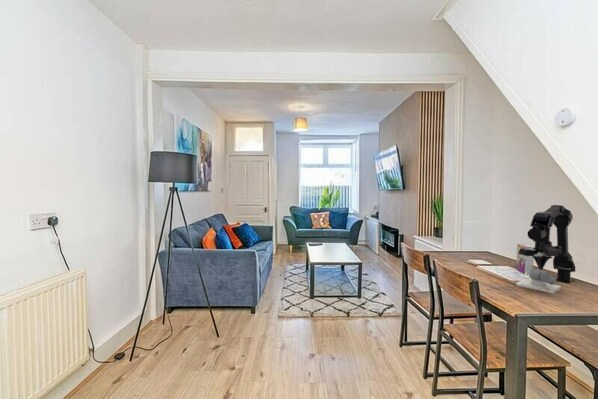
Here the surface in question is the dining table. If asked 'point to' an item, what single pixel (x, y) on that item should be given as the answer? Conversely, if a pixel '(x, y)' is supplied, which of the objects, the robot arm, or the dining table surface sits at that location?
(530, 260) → the candy bar box
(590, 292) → the dining table surface
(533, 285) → the duct base
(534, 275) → the duct elbow
